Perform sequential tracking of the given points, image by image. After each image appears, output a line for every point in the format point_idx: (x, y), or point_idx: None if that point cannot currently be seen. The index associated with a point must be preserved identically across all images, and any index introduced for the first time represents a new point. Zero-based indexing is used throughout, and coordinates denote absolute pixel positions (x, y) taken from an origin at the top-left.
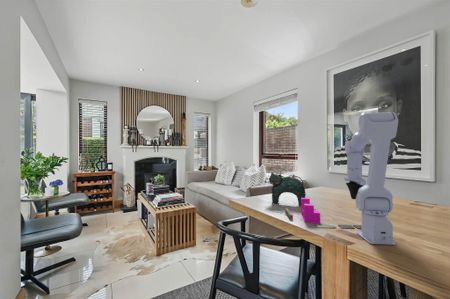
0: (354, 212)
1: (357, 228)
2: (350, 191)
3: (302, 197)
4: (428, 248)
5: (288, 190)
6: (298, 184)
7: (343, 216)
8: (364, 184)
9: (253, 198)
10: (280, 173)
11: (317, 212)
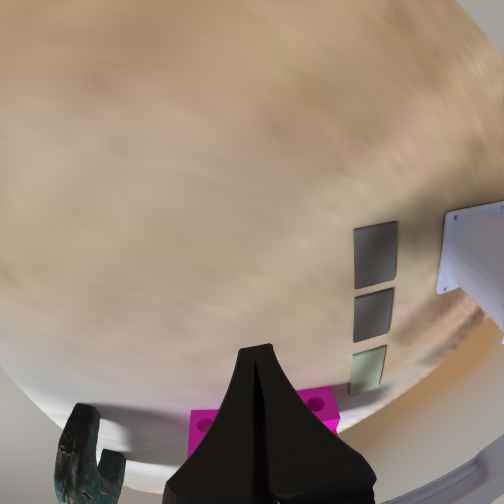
0: (67, 222)
1: (393, 278)
2: (267, 443)
3: (91, 442)
4: None
5: (106, 485)
6: (86, 496)
7: (187, 302)
8: (500, 446)
9: None
10: None
11: (331, 424)
